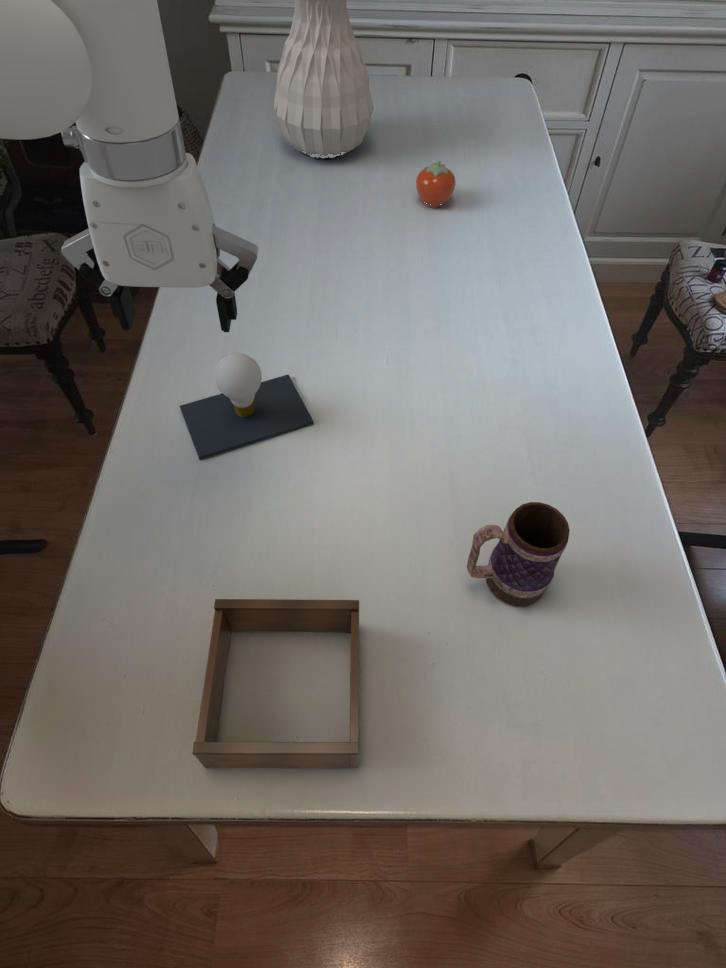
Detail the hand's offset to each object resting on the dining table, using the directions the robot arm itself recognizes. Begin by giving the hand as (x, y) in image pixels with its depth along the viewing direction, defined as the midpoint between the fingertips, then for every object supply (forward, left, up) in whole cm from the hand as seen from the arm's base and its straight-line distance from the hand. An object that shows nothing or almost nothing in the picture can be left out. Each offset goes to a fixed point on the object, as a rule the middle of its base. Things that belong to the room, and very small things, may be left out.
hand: (178, 322), depth 63 cm
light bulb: (+6, +7, -23) cm, 25 cm away
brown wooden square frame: (-2, -31, -23) cm, 39 cm away
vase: (+45, +74, -24) cm, 89 cm away
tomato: (+56, +46, -24) cm, 76 cm away
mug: (+25, -29, -24) cm, 45 cm away
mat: (+6, +7, -23) cm, 25 cm away
